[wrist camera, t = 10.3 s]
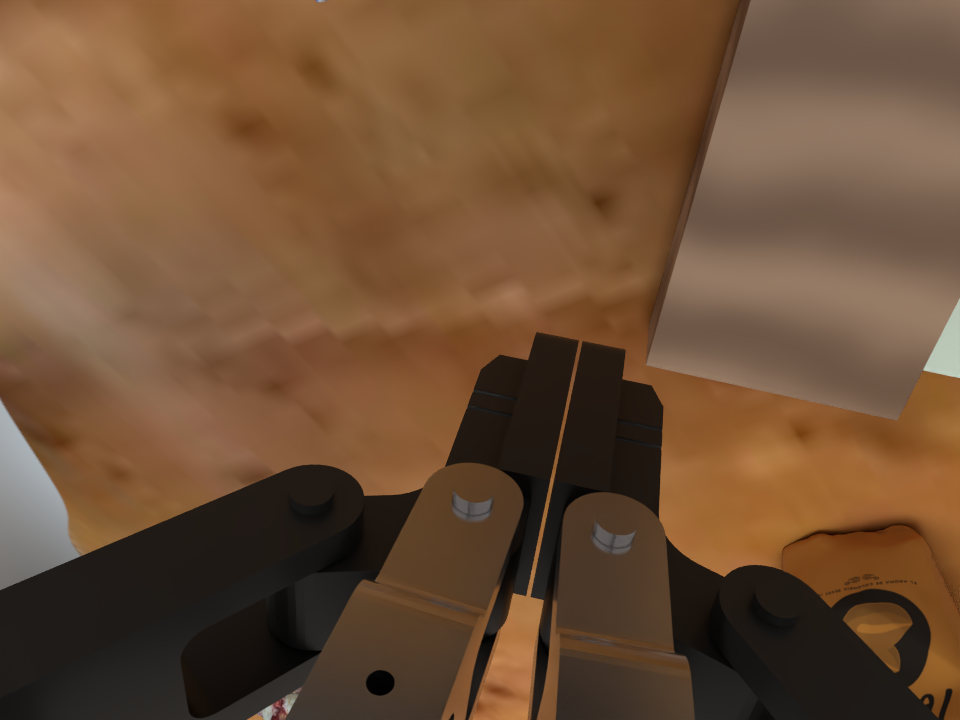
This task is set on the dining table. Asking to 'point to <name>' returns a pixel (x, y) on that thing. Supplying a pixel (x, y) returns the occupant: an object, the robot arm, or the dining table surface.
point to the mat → (947, 348)
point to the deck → (821, 206)
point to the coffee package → (890, 605)
